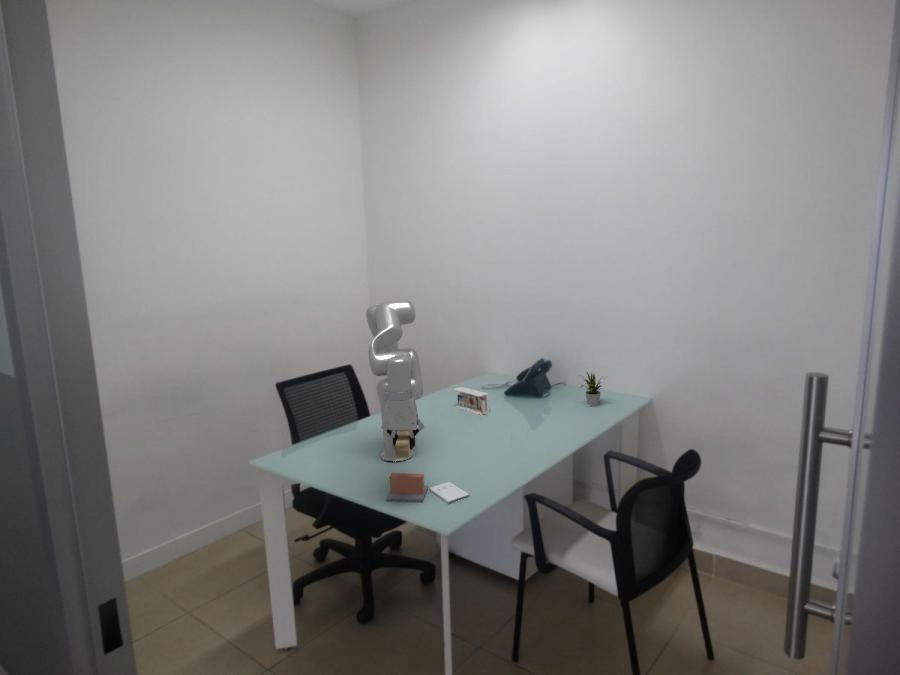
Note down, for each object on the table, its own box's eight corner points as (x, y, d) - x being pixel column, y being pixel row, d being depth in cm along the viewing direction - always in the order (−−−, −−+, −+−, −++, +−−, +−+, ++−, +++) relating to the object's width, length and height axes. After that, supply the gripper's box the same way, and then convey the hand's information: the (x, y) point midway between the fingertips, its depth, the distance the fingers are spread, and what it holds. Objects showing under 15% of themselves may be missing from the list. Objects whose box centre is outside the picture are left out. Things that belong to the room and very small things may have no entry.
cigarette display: (454, 407, 279) (453, 389, 277) (462, 404, 282) (461, 386, 281) (482, 416, 264) (481, 396, 262) (491, 413, 267) (490, 393, 266)
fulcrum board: (394, 487, 195) (392, 468, 194) (428, 488, 193) (427, 469, 192) (386, 501, 186) (385, 481, 184) (422, 502, 184) (421, 482, 182)
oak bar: (401, 441, 193) (400, 430, 192) (412, 440, 193) (411, 429, 192) (395, 457, 179) (395, 445, 179) (408, 457, 179) (407, 445, 179)
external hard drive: (448, 506, 181) (429, 492, 192) (470, 498, 185) (449, 485, 196) (448, 501, 181) (429, 487, 191) (469, 494, 185) (449, 480, 196)
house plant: (570, 402, 276) (569, 369, 273) (595, 398, 280) (595, 366, 277) (585, 410, 262) (585, 376, 259) (611, 406, 266) (611, 372, 263)
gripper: (371, 398, 181) (376, 452, 184) (423, 397, 178) (427, 452, 181) (378, 391, 188) (382, 443, 191) (428, 391, 185) (431, 444, 188)
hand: (404, 447), depth 186 cm, fingers closed on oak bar, 4 cm apart
